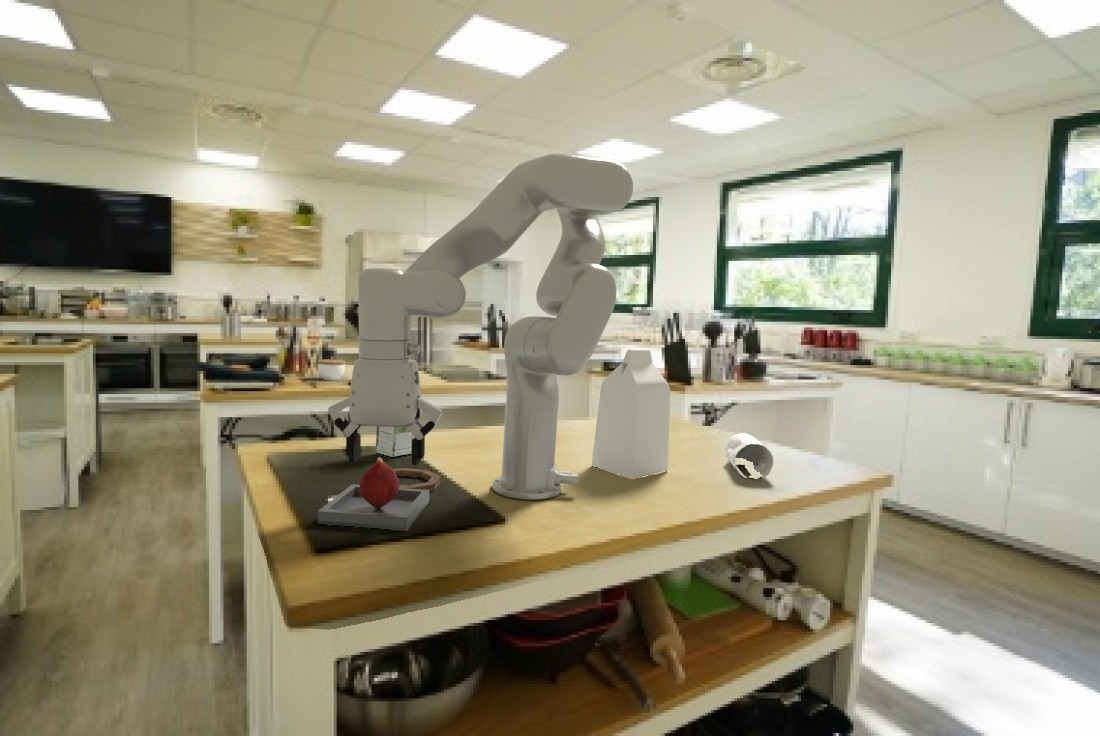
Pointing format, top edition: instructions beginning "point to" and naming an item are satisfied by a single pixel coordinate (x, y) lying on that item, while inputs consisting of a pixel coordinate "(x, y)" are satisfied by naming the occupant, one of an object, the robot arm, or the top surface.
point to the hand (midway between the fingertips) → (385, 461)
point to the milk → (633, 419)
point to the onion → (379, 484)
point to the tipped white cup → (749, 452)
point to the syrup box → (394, 441)
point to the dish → (374, 509)
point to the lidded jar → (331, 369)
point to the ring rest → (426, 474)
